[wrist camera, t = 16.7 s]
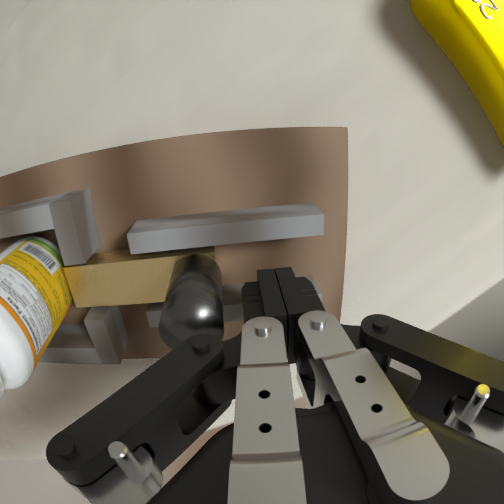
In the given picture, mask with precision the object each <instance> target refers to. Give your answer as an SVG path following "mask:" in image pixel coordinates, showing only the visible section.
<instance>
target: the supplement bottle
mask: <svg viewBox="0 0 504 504" xmlns="http://www.w3.org/2000/svg"><path fill="white" fill-rule="evenodd" d="M63 267H64V262H63V259H62V255H61V252H60V248H58V247H57V246H56V245H55V244H54V243H52V242H51V241H49V240H47V239H45V238H43V237H39V236H26V237H23V238H21V239H19V240H17V241H16V242H14V243H13V244H11V245H10V246H9V247H8V248H6V249H5V250H4V251H3V252H1V253H0V399H1V396H2V395H3V393H4V389H16V388H19V387H21V386H22V385H24V384H25V383H26V382H27V380H28V379H29V377H30V375H31V374H32V372H33V371H34V369H35V367H36V365H37V363H38V361H39V360H40V358H41V356H42V354H43V353H44V351H45V349H46V348H47V346H48V344H49V342H50V341H51V339H52V337H53V336H54V334H55V332H56V331H57V329H58V328H59V326H60V325H61V323H62V321H63V320H64V318H65V317H66V315H67V313H68V312H69V310H70V309H71V307H72V305H73V303H74V299H73V296H72V294H71V291H70V288H69V285H68V282H67V279H66V276H65V273H64V269H63Z"/></svg>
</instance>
